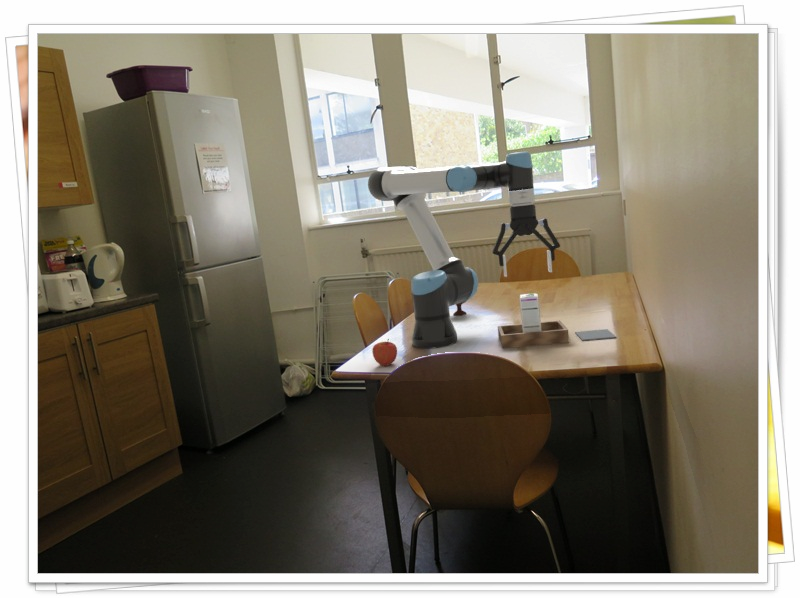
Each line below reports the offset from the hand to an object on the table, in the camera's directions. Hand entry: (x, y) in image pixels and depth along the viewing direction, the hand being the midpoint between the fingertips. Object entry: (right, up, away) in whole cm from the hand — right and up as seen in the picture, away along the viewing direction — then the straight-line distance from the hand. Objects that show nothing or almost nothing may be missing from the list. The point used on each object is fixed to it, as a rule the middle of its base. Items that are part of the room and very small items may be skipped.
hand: (527, 274), depth 176 cm
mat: (+21, -19, +1) cm, 28 cm away
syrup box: (+2, -21, +4) cm, 21 cm away
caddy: (+2, -21, +4) cm, 21 cm away
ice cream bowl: (-15, -14, +55) cm, 59 cm away
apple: (-43, -28, -5) cm, 52 cm away
